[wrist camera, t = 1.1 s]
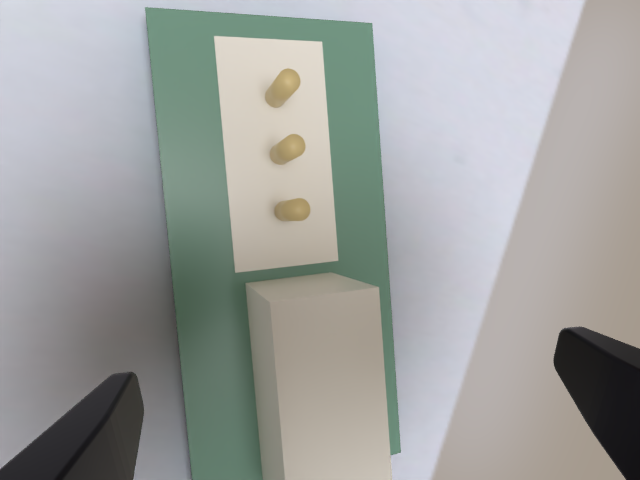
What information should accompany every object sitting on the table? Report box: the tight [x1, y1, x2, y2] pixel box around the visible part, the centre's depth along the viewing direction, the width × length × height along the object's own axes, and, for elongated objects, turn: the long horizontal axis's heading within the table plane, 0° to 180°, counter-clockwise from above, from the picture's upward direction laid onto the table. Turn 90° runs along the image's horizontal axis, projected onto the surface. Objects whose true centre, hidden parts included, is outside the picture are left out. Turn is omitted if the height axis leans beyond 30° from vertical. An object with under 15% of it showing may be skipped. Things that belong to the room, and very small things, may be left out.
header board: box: [145, 7, 401, 480], centre depth 19 cm, size 21×10×4 cm, turn 5°
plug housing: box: [245, 272, 392, 480], centre depth 18 cm, size 9×4×5 cm, turn 5°
